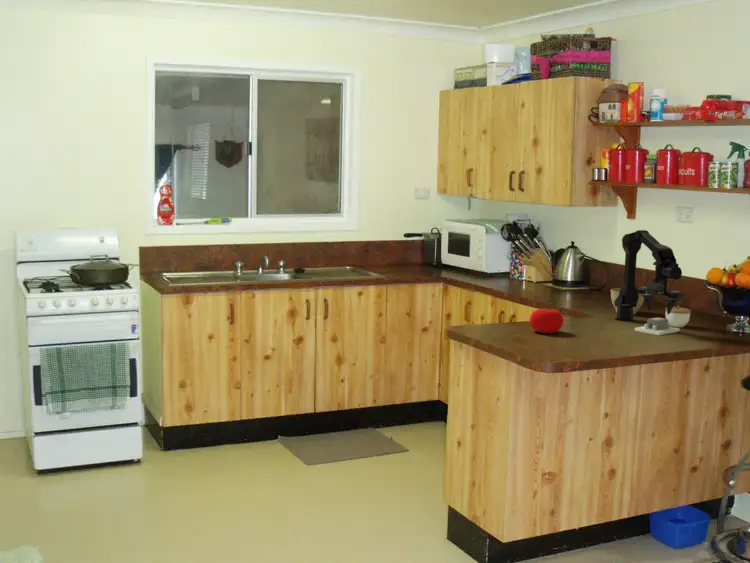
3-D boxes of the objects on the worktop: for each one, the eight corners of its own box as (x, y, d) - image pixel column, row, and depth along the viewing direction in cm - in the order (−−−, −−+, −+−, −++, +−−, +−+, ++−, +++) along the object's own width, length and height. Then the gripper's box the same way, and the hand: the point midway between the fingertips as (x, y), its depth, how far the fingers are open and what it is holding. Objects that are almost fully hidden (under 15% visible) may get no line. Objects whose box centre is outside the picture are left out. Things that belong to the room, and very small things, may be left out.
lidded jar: (673, 328, 403) (674, 307, 402) (659, 324, 413) (661, 303, 412) (694, 328, 406) (695, 307, 404) (680, 323, 416) (681, 303, 415)
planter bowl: (636, 317, 429) (637, 294, 428) (603, 312, 439) (605, 290, 437) (648, 313, 442) (650, 291, 441) (616, 308, 452) (618, 287, 450)
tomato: (536, 335, 375) (538, 310, 374) (523, 329, 388) (525, 305, 386) (568, 335, 379) (570, 310, 378) (554, 329, 392) (555, 305, 390)
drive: (646, 328, 395) (647, 318, 394) (657, 326, 400) (658, 317, 399) (656, 330, 391) (657, 320, 390) (667, 328, 396) (668, 318, 395)
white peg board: (634, 330, 395) (635, 323, 394) (655, 326, 405) (655, 319, 405) (659, 335, 386) (659, 327, 385) (679, 331, 396) (680, 324, 396)
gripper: (632, 275, 394) (629, 310, 396) (670, 280, 380) (667, 317, 382) (646, 273, 401) (643, 308, 403) (685, 278, 387) (682, 315, 389)
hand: (658, 312), depth 394 cm, fingers open, 9 cm apart
